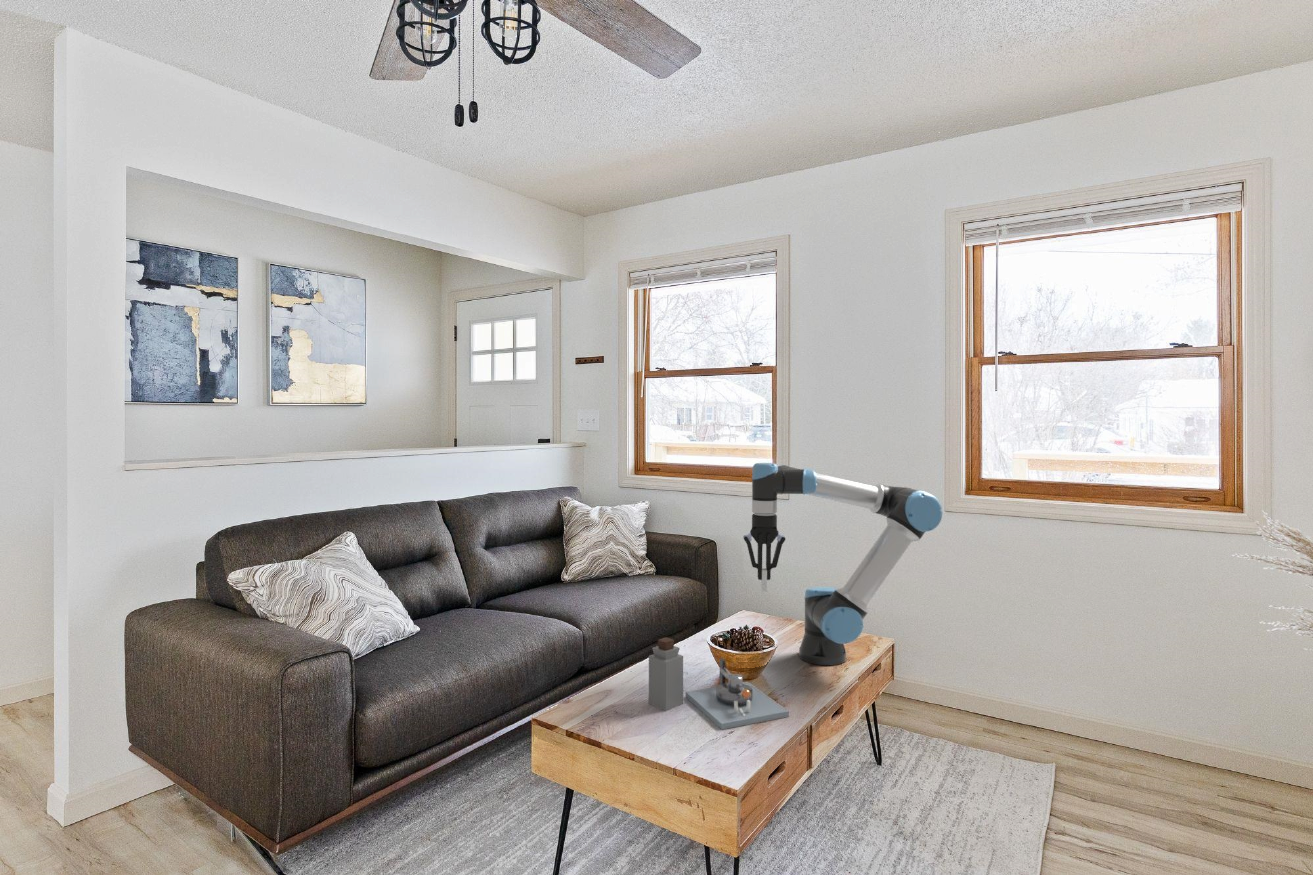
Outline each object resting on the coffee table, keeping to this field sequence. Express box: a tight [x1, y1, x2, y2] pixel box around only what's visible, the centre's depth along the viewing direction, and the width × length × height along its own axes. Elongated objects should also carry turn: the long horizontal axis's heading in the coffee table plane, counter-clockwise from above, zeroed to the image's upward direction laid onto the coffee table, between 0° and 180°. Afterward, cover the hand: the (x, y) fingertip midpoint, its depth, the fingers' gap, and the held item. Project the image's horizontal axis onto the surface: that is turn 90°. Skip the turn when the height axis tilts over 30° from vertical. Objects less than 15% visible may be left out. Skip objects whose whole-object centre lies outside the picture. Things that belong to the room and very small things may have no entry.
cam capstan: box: [716, 657, 753, 705], centre depth 195 cm, size 20×10×7 cm, turn 15°
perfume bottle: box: [648, 636, 684, 712], centre depth 195 cm, size 7×7×18 cm
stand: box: [685, 681, 790, 730], centre depth 193 cm, size 20×22×4 cm
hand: (763, 590), depth 215 cm, fingers closed
